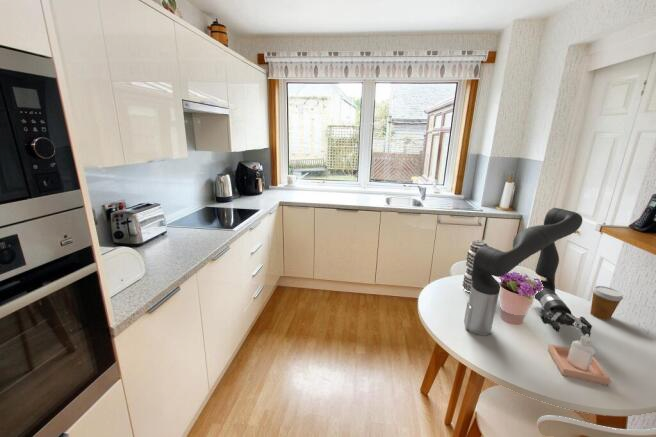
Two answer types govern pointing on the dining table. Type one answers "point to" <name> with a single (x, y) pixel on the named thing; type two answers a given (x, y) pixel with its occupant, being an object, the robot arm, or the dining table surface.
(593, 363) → the terracotta caddy
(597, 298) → the disposable coffee cup
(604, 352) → the dining table surface
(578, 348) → the eye dropper bottle
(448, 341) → the dining table surface
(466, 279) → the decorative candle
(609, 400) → the dining table surface
